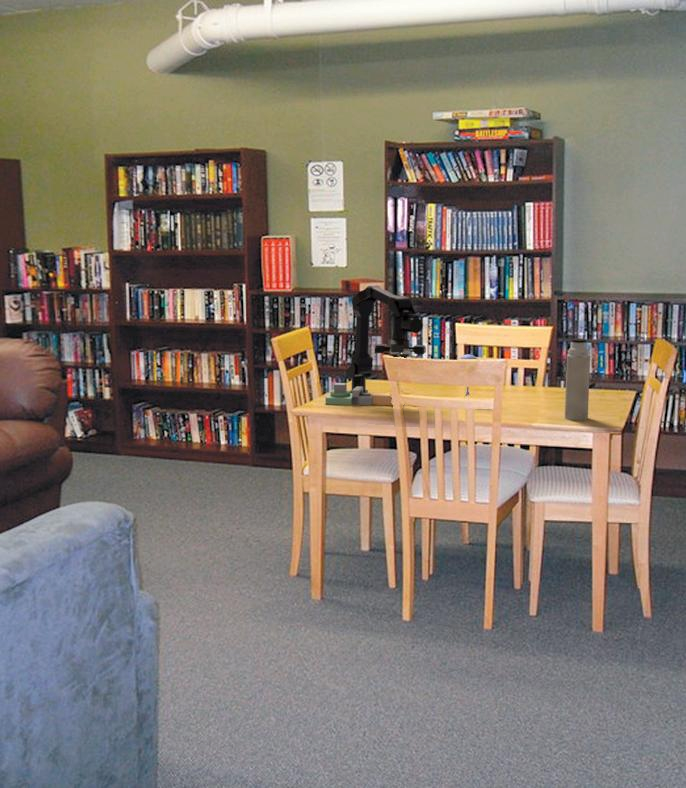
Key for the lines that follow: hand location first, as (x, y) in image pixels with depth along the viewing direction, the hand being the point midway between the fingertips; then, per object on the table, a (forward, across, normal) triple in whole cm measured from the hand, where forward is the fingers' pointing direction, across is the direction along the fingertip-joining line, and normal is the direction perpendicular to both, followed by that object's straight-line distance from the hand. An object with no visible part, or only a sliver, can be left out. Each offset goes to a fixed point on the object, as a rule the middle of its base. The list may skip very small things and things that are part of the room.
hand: (400, 371), depth 404 cm
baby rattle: (+12, +25, +10) cm, 29 cm away
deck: (+12, -19, -2) cm, 22 cm away
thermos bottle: (+12, +66, -16) cm, 69 cm away
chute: (+12, -5, -2) cm, 13 cm away
